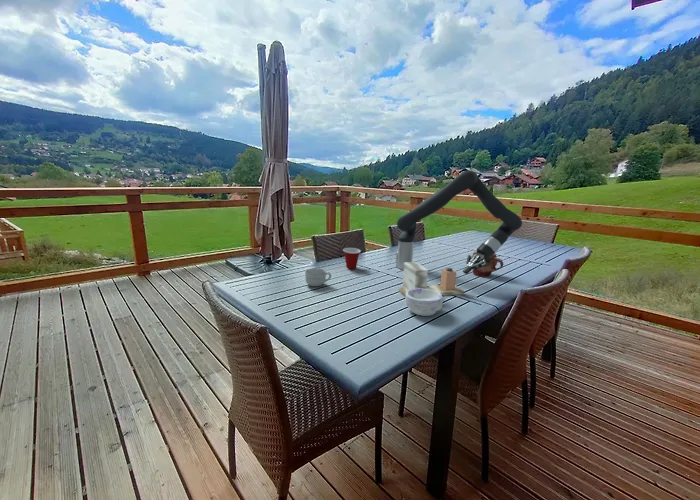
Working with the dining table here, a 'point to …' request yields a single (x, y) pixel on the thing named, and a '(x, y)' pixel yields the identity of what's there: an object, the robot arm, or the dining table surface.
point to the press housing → (421, 280)
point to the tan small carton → (448, 279)
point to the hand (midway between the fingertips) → (464, 272)
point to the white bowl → (423, 301)
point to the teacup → (316, 276)
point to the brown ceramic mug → (488, 266)
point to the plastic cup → (351, 257)
